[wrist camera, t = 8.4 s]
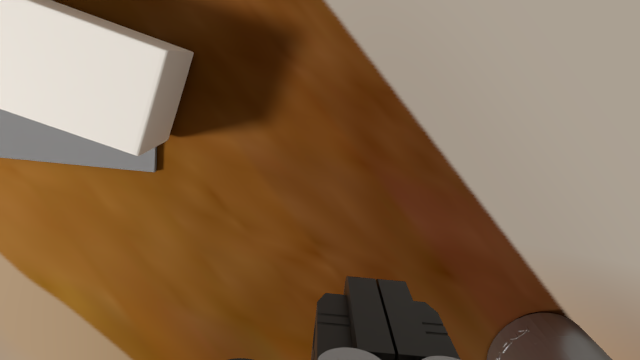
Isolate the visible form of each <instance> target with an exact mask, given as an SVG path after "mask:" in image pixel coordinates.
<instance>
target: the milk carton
mask: <svg viewBox="0 0 640 360" xmlns="http://www.w3.org/2000/svg"><path fill="white" fill-rule="evenodd" d="M193 54H194V52H192V51H189V50H187V49H184V48H181V47H178V46H176V45H173V44H170V43H167V42H165V41H162V40H159V39H156V38H154V37H151V36H148V35H145V34H143V33H140V32H137V31H134V30H132V29H129V28H126V27H123V26H121V25H118V24H115V23H113V22H110V21H107V20H104V19H102V18H99V17H96V16H93V15H91V14H88V13H85V12H82V11H80V10H77V9H74V8H71V7H69V6H66V5H63V4H60V3H58V2H55V1H52V0H0V109H2V110H5V111H8V112H10V113H13V114H16V115H19V116H22V117H25V118H28V119H31V120H34V121H37V122H40V123H43V124H45V125H48V126H51V127H54V128H57V129H60V130H63V131H66V132H69V133H72V134H75V135H78V136H80V137H83V138H86V139H89V140H92V141H95V142H98V143H101V144H104V145H107V146H110V147H113V148H115V149H118V150H121V151H124V152H127V153H130V154H133V155H136V156H140V155H142V154H144V153H145V152H147V151H149V150H151V149H153V148H155V147H156V146H158V145H160V144H162V143H164V142H166V141H167V140H168V139H169V135H170V132H171V129H172V125H173V122H174V119H175V116H176V112H177V109H178V106H179V102H180V99H181V95H182V92H183V89H184V85H185V82H186V78H187V75H188V72H189V68H190V65H191V61H192V58H193Z"/></svg>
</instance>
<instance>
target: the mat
mask: <svg viewBox="0 0 640 360" xmlns="http://www.w3.org/2000/svg"><path fill="white" fill-rule="evenodd" d="M0 157H2V158H12V159H22V160H33V161H43V162H54V163H64V164H74V165H85V166H95V167H106V168H116V169H126V170H137V171H147V172H155V171H156V163H157V146H156V147H155V148H153V149H151V150H149V151H147V152H145V153H144V154H142V155H140V156H136V155H133V154H130V153H127V152H124V151H121V150H118V149H115V148H113V147H110V146H107V145H104V144H101V143H98V142H95V141H92V140H89V139H86V138H83V137H80V136H78V135H75V134H72V133H69V132H66V131H63V130H60V129H57V128H54V127H51V126H48V125H45V124H43V123H40V122H37V121H34V120H31V119H28V118H25V117H22V116H19V115H16V114H13V113H10V112H8V111H5V110H2V109H0Z"/></svg>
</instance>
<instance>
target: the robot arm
mask: <svg viewBox="0 0 640 360" xmlns="http://www.w3.org/2000/svg"><path fill="white" fill-rule="evenodd" d="M229 360H252V359H241V358H238V359H229ZM311 360H460V358H459V356H458V354H457V352H456V350H455V348H454V346H453V344H452V341H451V339H450V337H449V336H448V333H447V331H446V329H445V327H444V326H443V323H442V321H441V319H440V317H439V315H438V313H437V312H436V311H435V310H434V309H432V308H431V307H430V306H429V305H428V304H426V303H425V302H417V301H413V300H412V297H411V295H410V292H409V290H408V287H407V285H406V282H404V281H393V280H382V279H376V280H375V279H370V278H360V277H349V276H347V277H346V281H345V288H344V295H340V294H329V293H325V294H324V295H323V296H322V298H321V299H320V300H319V301H318V302H317V310H316V319H315V328H314V338H313V347H312V357H311ZM487 360H612V359H611V358H610V357H609V356H608V355H607V354H606V353H605V352H604V351H603V350H602V349H601V348H600V347H599V346H598V345H597V344H596V343H595V342H594V341H593V340H592V339H591V338H590V337H589V336H588V335H587V334H586V333H585V332H584V331H583V330H582V329H581V328H580V327H579V326H578V325H577V324H576V323H575V322H573V321H572V320H570V319H569V318H566V317H564V316H562V315H558V314H553V313H535V314H530V315H526V316H523V317H521V318H518V319H516V320H514V321H513V322H511V323H510V324H508V325H507V326H506V327H504V328H503V329H502V330H501V331H500V332H499V333H498V335H497V336H496V337H495V339H494V340H493V342H492V344H491V346H490V348H489V351H488V355H487Z"/></svg>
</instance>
